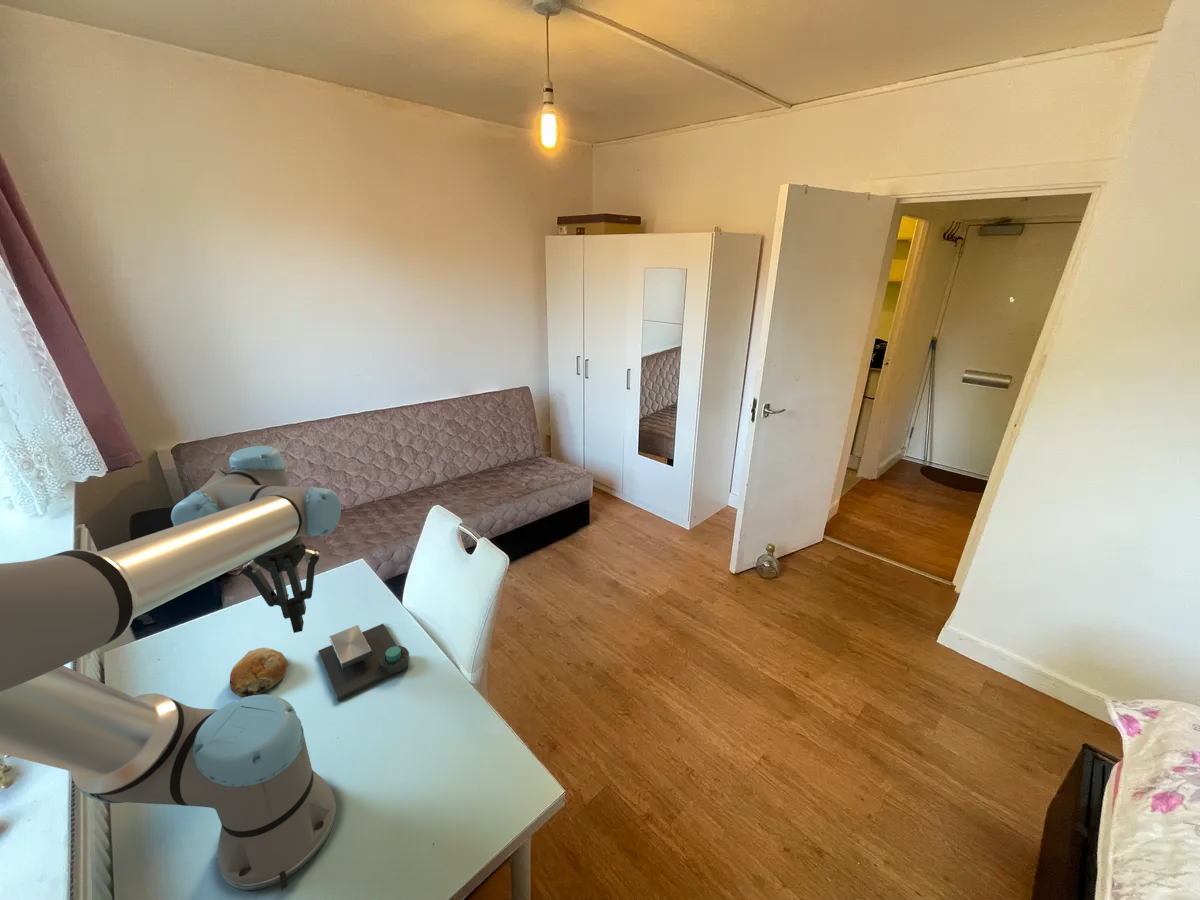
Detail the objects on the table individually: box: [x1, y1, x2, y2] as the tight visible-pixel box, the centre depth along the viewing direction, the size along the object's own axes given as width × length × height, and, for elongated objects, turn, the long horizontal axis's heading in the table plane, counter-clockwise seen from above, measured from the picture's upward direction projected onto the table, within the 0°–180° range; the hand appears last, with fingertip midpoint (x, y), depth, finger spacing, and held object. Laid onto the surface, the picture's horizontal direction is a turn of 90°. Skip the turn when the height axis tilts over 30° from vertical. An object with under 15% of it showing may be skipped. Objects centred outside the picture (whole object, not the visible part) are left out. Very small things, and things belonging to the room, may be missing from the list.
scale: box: [318, 623, 411, 702], centre depth 107 cm, size 17×15×3 cm
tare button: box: [386, 645, 401, 663], centre depth 105 cm, size 3×3×2 cm
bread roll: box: [229, 647, 288, 697], centre depth 102 cm, size 10×10×8 cm
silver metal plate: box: [328, 624, 372, 669], centre depth 107 cm, size 10×6×2 cm, turn 40°
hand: (298, 627), depth 99 cm, fingers closed
